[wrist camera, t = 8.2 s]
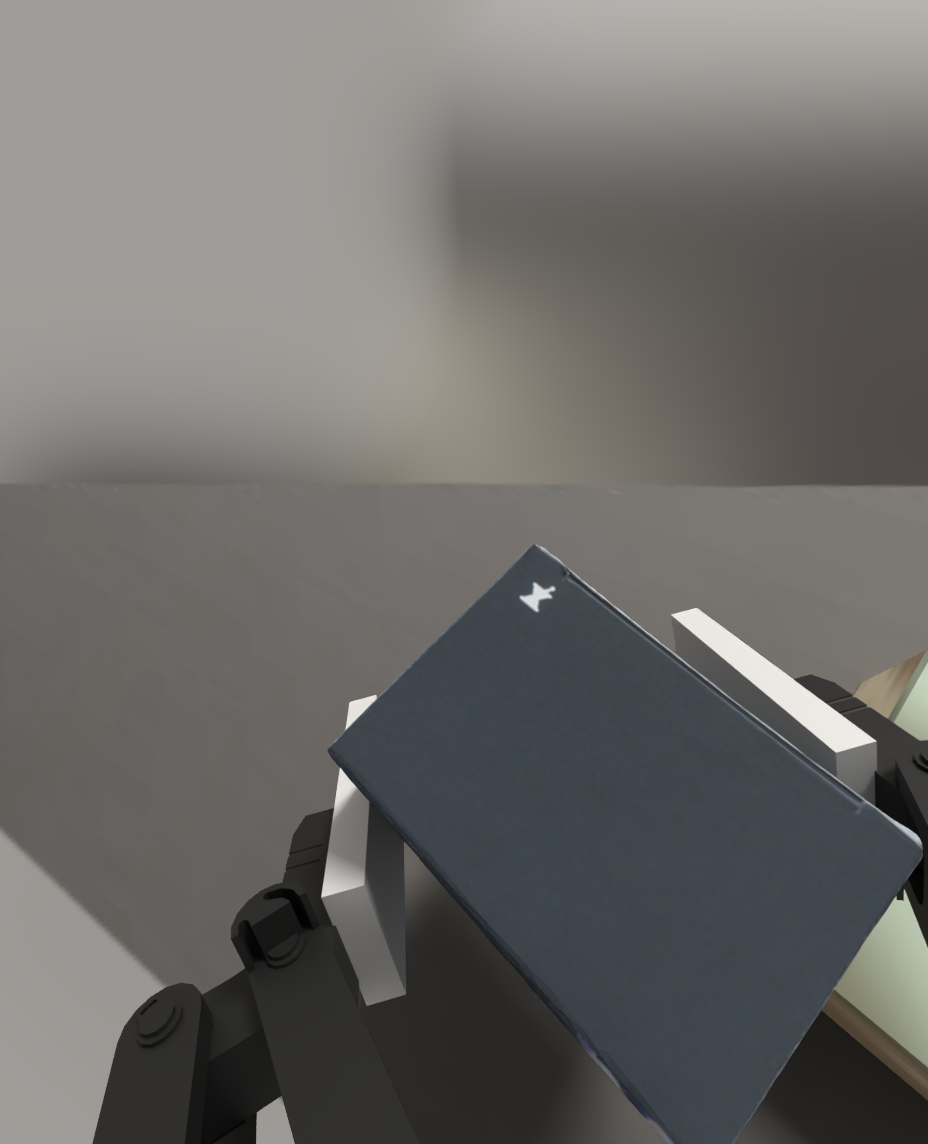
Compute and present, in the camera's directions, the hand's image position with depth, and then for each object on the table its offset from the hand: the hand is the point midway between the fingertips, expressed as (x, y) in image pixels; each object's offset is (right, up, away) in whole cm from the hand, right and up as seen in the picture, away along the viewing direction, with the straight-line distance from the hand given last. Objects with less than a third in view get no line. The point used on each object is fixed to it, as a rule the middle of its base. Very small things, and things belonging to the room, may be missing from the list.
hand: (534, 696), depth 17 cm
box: (+1, -5, +2) cm, 5 cm away
